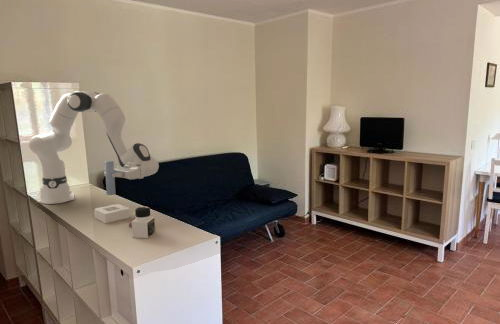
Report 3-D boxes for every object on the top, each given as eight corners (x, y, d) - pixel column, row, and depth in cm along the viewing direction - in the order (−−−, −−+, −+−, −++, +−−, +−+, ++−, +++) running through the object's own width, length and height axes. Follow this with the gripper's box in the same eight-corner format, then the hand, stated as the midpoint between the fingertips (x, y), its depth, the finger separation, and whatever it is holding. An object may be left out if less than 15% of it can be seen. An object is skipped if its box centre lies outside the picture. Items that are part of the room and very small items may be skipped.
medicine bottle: (148, 238, 142) (147, 210, 140) (132, 237, 143) (130, 209, 141) (155, 232, 149) (154, 205, 147) (139, 231, 150) (138, 205, 148)
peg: (107, 193, 168) (104, 161, 166) (115, 192, 169) (113, 160, 167) (106, 195, 164) (104, 162, 162) (115, 194, 166) (113, 161, 163)
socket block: (94, 217, 168) (94, 208, 168) (118, 212, 177) (118, 203, 176) (105, 223, 160) (104, 214, 159) (129, 217, 169) (129, 208, 168)
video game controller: (147, 233, 152) (153, 218, 153) (138, 231, 149) (144, 215, 150) (135, 228, 158) (141, 213, 160) (127, 226, 155) (133, 211, 156)
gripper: (118, 162, 181) (94, 166, 169) (145, 166, 170) (121, 170, 159) (119, 174, 182) (95, 179, 170) (145, 178, 171) (122, 183, 160)
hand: (108, 175), depth 165 cm, fingers closed on peg, 4 cm apart
